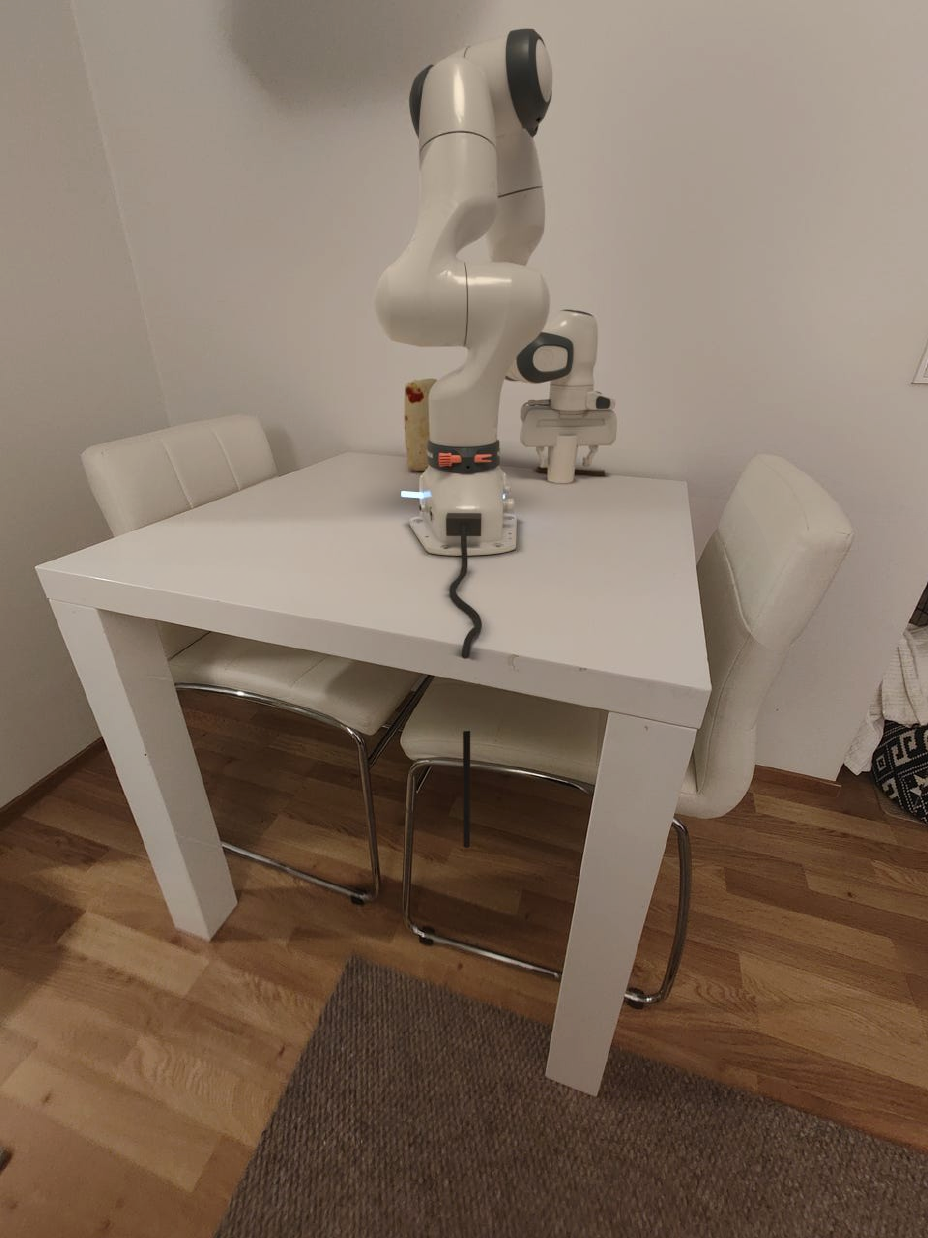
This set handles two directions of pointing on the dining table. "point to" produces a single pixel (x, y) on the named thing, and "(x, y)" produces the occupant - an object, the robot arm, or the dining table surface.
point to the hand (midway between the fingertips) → (565, 466)
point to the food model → (417, 422)
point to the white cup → (562, 459)
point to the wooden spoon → (577, 471)
